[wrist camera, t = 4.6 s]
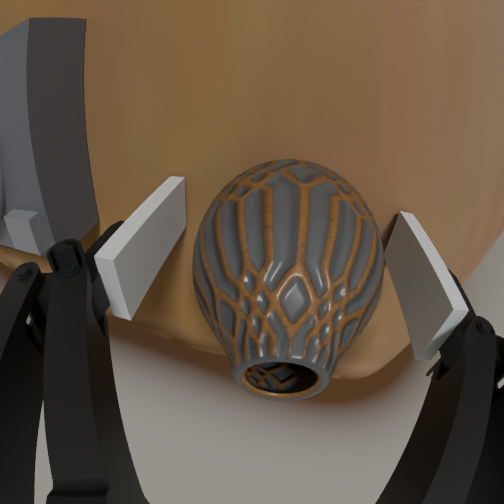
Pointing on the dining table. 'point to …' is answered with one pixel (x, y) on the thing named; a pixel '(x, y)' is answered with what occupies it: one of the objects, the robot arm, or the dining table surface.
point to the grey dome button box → (44, 136)
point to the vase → (287, 275)
